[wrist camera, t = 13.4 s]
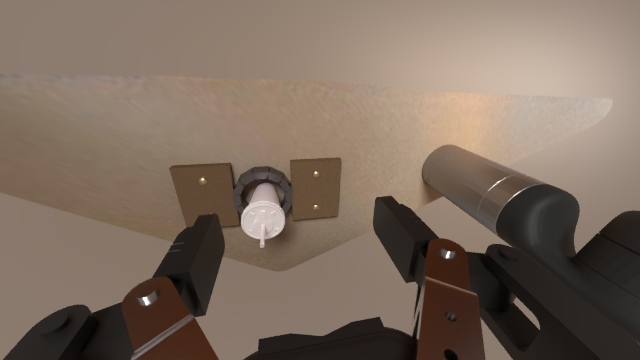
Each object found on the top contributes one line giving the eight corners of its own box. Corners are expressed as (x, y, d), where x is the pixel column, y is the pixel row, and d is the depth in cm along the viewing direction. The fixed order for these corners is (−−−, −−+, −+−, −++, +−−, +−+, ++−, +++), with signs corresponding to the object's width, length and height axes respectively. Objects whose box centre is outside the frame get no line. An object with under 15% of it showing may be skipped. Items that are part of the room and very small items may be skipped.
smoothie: (249, 207, 42) (238, 263, 30) (246, 176, 40) (232, 224, 27) (283, 205, 43) (287, 259, 31) (283, 175, 41) (286, 220, 28)
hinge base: (339, 157, 41) (343, 162, 39) (336, 212, 46) (339, 219, 44) (172, 165, 37) (165, 171, 34) (189, 225, 42) (185, 234, 40)
